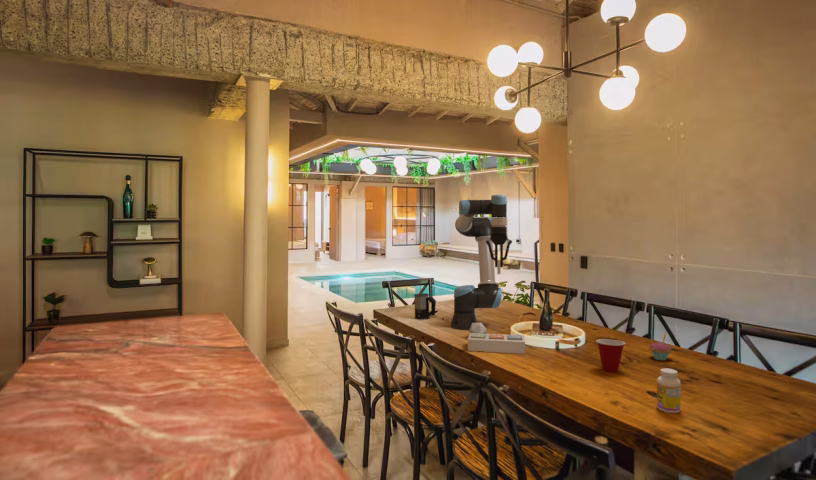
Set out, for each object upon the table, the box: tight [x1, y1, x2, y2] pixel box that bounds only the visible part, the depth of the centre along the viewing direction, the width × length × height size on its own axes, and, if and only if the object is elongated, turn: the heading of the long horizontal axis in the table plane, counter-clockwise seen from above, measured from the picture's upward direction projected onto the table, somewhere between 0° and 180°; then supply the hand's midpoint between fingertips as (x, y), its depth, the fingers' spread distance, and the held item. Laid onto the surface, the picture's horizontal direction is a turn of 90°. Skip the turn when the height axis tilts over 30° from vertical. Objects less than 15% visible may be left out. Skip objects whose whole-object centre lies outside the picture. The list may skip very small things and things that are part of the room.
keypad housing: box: [467, 333, 526, 355], centre depth 217 cm, size 12×26×6 cm, turn 78°
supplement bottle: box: [656, 367, 682, 414], centre depth 147 cm, size 7×7×13 cm
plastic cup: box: [595, 338, 626, 373], centre depth 185 cm, size 11×11×12 cm
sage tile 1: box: [472, 333, 486, 339], centre depth 219 cm, size 6×6×4 cm
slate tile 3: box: [507, 334, 522, 340], centre depth 215 cm, size 6×6×4 cm
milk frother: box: [413, 293, 439, 320], centre depth 287 cm, size 14×16×15 cm
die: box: [468, 322, 488, 334], centre depth 237 cm, size 8×9×10 cm
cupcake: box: [648, 331, 672, 361], centre depth 199 cm, size 9×8×12 cm
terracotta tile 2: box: [489, 333, 504, 340], centre depth 217 cm, size 6×6×4 cm
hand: (498, 273), depth 226 cm, fingers closed
